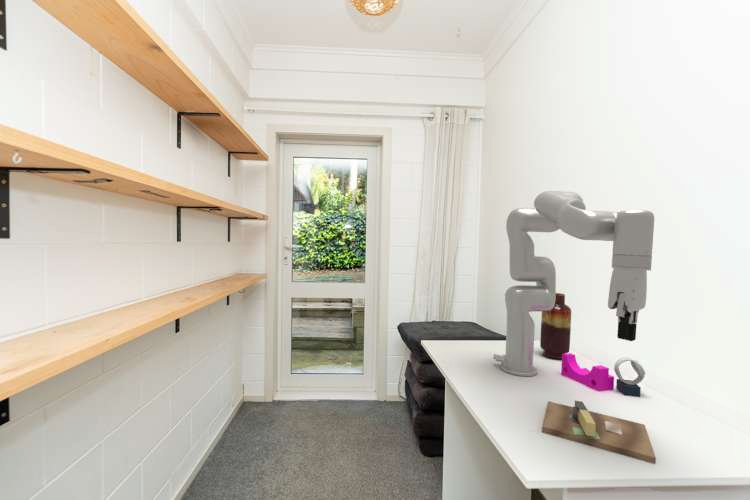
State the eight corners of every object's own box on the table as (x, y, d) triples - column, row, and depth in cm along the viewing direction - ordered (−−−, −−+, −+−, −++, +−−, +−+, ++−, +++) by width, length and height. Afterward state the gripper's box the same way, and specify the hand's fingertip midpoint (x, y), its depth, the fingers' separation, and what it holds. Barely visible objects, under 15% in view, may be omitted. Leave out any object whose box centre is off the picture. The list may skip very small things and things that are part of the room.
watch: (647, 398, 107) (649, 363, 107) (618, 394, 109) (620, 360, 109) (637, 390, 113) (639, 357, 113) (610, 387, 115) (611, 354, 114)
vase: (545, 349, 154) (548, 291, 153) (573, 355, 146) (576, 294, 145) (535, 354, 146) (538, 293, 146) (563, 361, 138) (566, 297, 137)
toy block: (613, 390, 113) (614, 367, 113) (598, 392, 111) (600, 369, 111) (574, 372, 127) (575, 352, 127) (561, 374, 126) (562, 353, 125)
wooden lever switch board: (541, 434, 85) (542, 425, 85) (547, 407, 99) (548, 400, 99) (655, 467, 74) (655, 456, 74) (644, 432, 88) (644, 423, 87)
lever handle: (570, 413, 92) (570, 399, 91) (585, 415, 90) (586, 402, 90) (581, 436, 81) (582, 421, 81) (599, 439, 80) (600, 424, 79)
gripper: (624, 260, 89) (620, 331, 90) (599, 262, 80) (595, 339, 81) (661, 263, 83) (656, 338, 84) (638, 265, 74) (633, 349, 75)
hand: (626, 339), depth 82 cm, fingers closed
